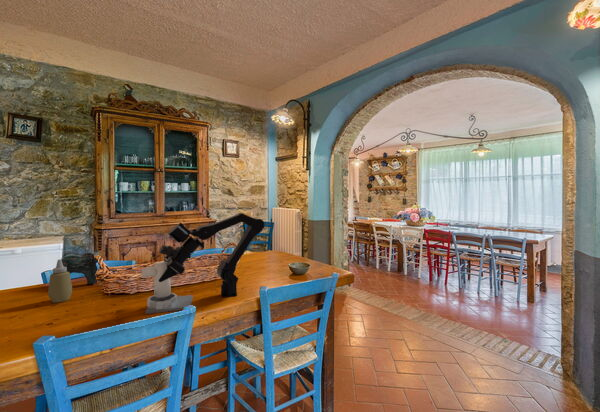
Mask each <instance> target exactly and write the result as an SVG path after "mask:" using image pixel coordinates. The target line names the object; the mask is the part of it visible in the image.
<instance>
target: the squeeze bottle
mask: <svg viewBox="0 0 600 412" xmlns="http://www.w3.org/2000/svg"><path fill="white" fill-rule="evenodd" d="M61 259H62V258H59V259H57V261H56V266H55V267H53V268H52V273H51V274H50V275H49V282H48V293H47V295H48V298H49V299H50V301H51V303H62V302H66V301H69V300H70V298H71V297H72V296H71V295H72V292H73V285H72V280H71V274H70V273H69V272H67V267H64V266H63V263H62V260H61Z"/></svg>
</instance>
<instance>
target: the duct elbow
mask: <svg viewBox="0 0 600 412" xmlns="http://www.w3.org/2000/svg"><path fill="white" fill-rule="evenodd" d="M168 263H169V262H164V261H160V262H155V263H153V266H152V265H151V266H146V267H141V275H142V276H141V277H142V279H145V278H152V277H153V289H154V294H153V295H154V296H155V297H157V298H161V297H166V296H169V295H170V294H171V293H172V292H171V291H172V290H171V278H169V279H166V280H164V281H162V282H159V281H158V280H159V279H160V277H161V276H162V275H163V273H164V272H165V270H166V269H167V264H168Z"/></svg>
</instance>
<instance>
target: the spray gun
mask: <svg viewBox="0 0 600 412" xmlns="http://www.w3.org/2000/svg"><path fill="white" fill-rule="evenodd" d="M82 247H83V248H84V249H85V251H84V253H83V254H81V253H76V252H67V253H65V254H63V255H62V257H61V258H60V259H61V260H62V263H63V266H64V267H67V272H69V273H70V275H71V274H73V273H75V274H82V275H84V277H85V278H86V285H87V284H95V283H97V280H96V276H95V273H96V271H97V270H98V266H97V264H98V263H99V262H98V260H97V259H95V258H94V255H100V256H101V257H102V255H101V253H100V252H99V250H98V249H95V250H93V251H89V250H87V248H86V246H84V245H80V246H79V247H78V249H80V248H82ZM72 254H73V255H72ZM97 284H98V283H97ZM95 285H96V284H95Z"/></svg>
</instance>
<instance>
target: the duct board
mask: <svg viewBox="0 0 600 412" xmlns="http://www.w3.org/2000/svg"><path fill="white" fill-rule="evenodd" d="M193 298H194V296H193V294H189V295H178V294H176V293H174V292H171V294H170V295H169V296H166V297H161V298H157V297H155V296H154V294H153V295H151V296H149V297H148V298H147V300H146V303H147V307H146V310H145V314H146V315H147V314H157V313H168V311H169V312H176V311H177V312H179V311H184V310H183V308H184V307H185V306H188V305H192V303H193Z"/></svg>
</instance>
